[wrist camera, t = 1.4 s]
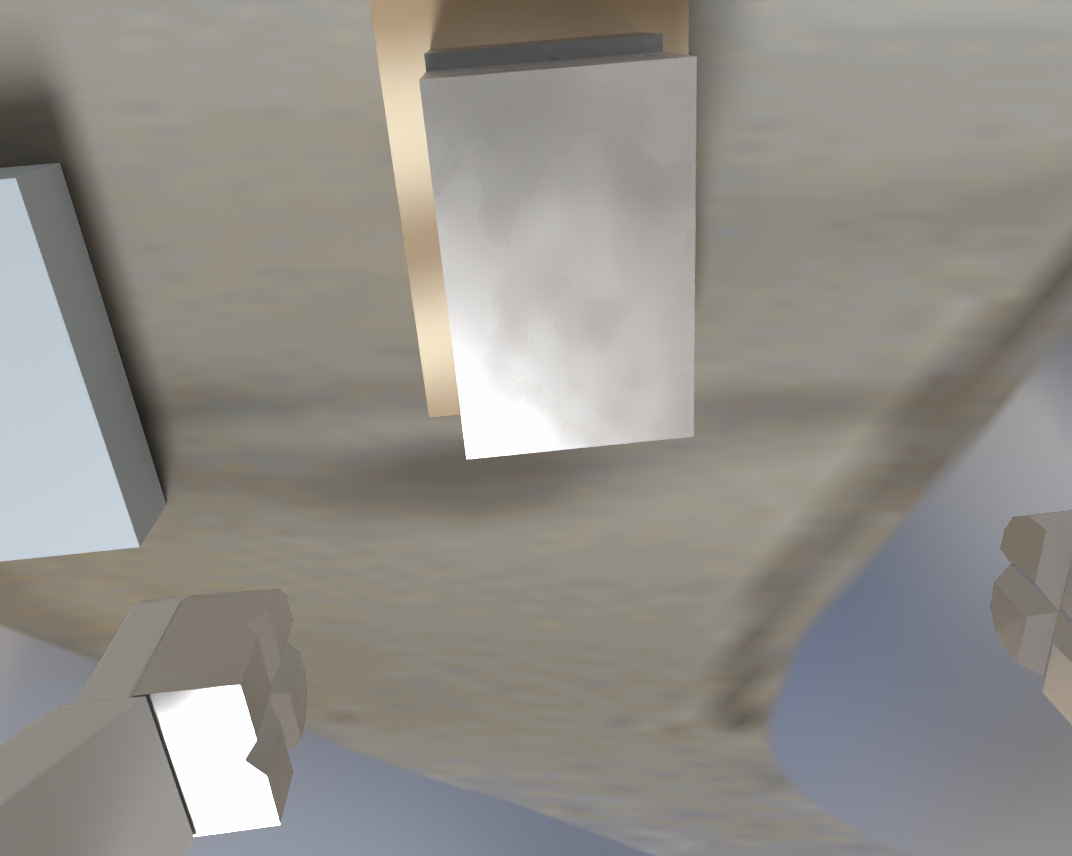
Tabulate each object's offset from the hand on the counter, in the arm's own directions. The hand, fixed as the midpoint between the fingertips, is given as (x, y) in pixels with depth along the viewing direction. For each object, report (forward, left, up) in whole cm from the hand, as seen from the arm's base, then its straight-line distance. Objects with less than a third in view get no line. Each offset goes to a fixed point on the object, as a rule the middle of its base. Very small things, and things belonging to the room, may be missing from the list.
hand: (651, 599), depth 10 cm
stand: (+4, -20, -22) cm, 30 cm away
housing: (0, 0, -19) cm, 19 cm away
